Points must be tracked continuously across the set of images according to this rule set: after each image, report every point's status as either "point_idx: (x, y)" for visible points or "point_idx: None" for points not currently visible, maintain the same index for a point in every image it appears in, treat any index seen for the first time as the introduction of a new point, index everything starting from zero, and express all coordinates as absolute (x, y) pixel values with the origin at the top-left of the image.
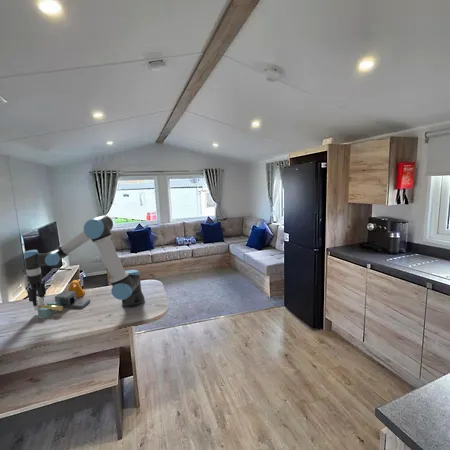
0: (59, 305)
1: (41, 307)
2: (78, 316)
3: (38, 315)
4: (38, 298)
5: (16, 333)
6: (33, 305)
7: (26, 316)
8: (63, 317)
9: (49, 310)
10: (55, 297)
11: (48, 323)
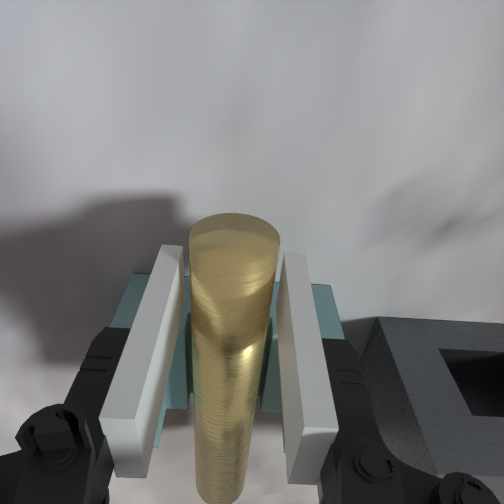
0: (372, 373)
1: (195, 349)
2: (195, 493)
3: (124, 292)
4: (300, 405)
5: None
6: (93, 345)
7: (124, 76)
8: (170, 440)
9: (179, 407)
10: (427, 464)
11: (58, 402)
